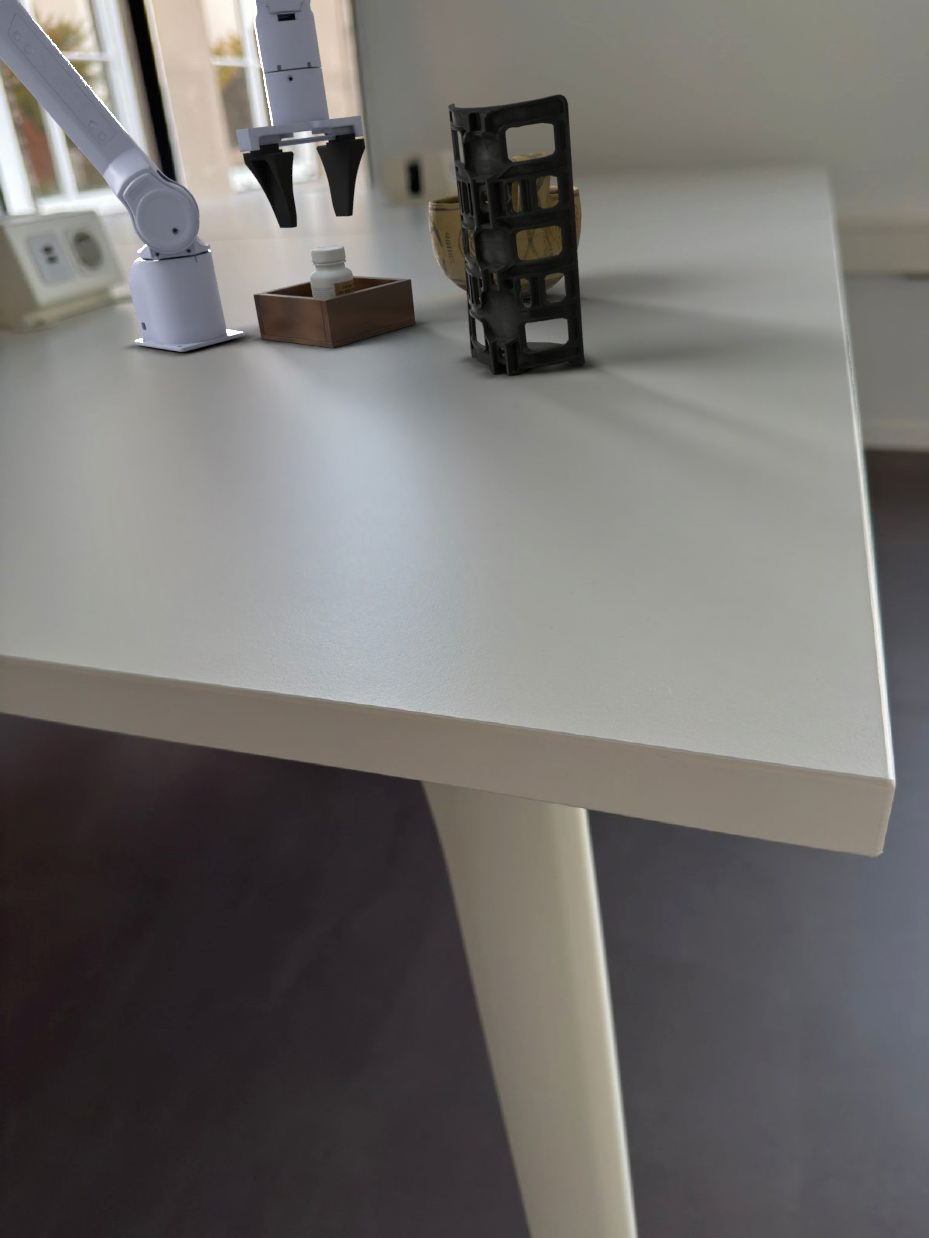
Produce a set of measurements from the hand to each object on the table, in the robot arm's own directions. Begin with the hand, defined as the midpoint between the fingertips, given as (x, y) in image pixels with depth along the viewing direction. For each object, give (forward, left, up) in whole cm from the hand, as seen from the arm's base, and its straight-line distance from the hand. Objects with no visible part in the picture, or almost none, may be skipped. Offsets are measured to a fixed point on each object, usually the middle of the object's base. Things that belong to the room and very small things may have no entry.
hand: (317, 221), depth 98 cm
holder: (+32, -6, -11) cm, 34 cm away
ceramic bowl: (+10, +19, -11) cm, 24 cm away
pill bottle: (+4, -2, -10) cm, 11 cm away
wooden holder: (+4, -2, -10) cm, 11 cm away
